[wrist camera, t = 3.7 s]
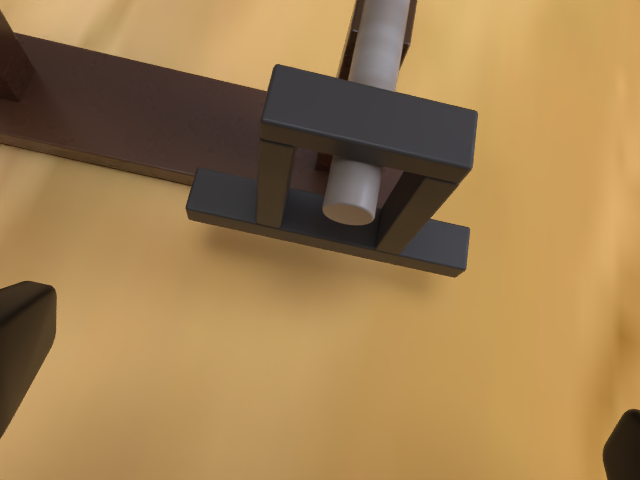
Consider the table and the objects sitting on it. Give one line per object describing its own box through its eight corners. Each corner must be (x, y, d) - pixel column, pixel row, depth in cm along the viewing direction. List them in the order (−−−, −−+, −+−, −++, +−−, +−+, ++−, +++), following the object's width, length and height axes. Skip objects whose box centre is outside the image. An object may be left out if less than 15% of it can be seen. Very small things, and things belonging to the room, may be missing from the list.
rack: (384, 318, 21) (614, 131, 8) (-126, 210, 20) (-841, -215, 7) (410, 137, 24) (615, -227, 11) (-37, 33, 23) (-427, -515, 10)
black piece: (455, 278, 19) (573, 192, 12) (187, 220, 18) (153, 96, 11) (460, 237, 19) (575, 132, 12) (199, 178, 19) (172, 37, 12)
